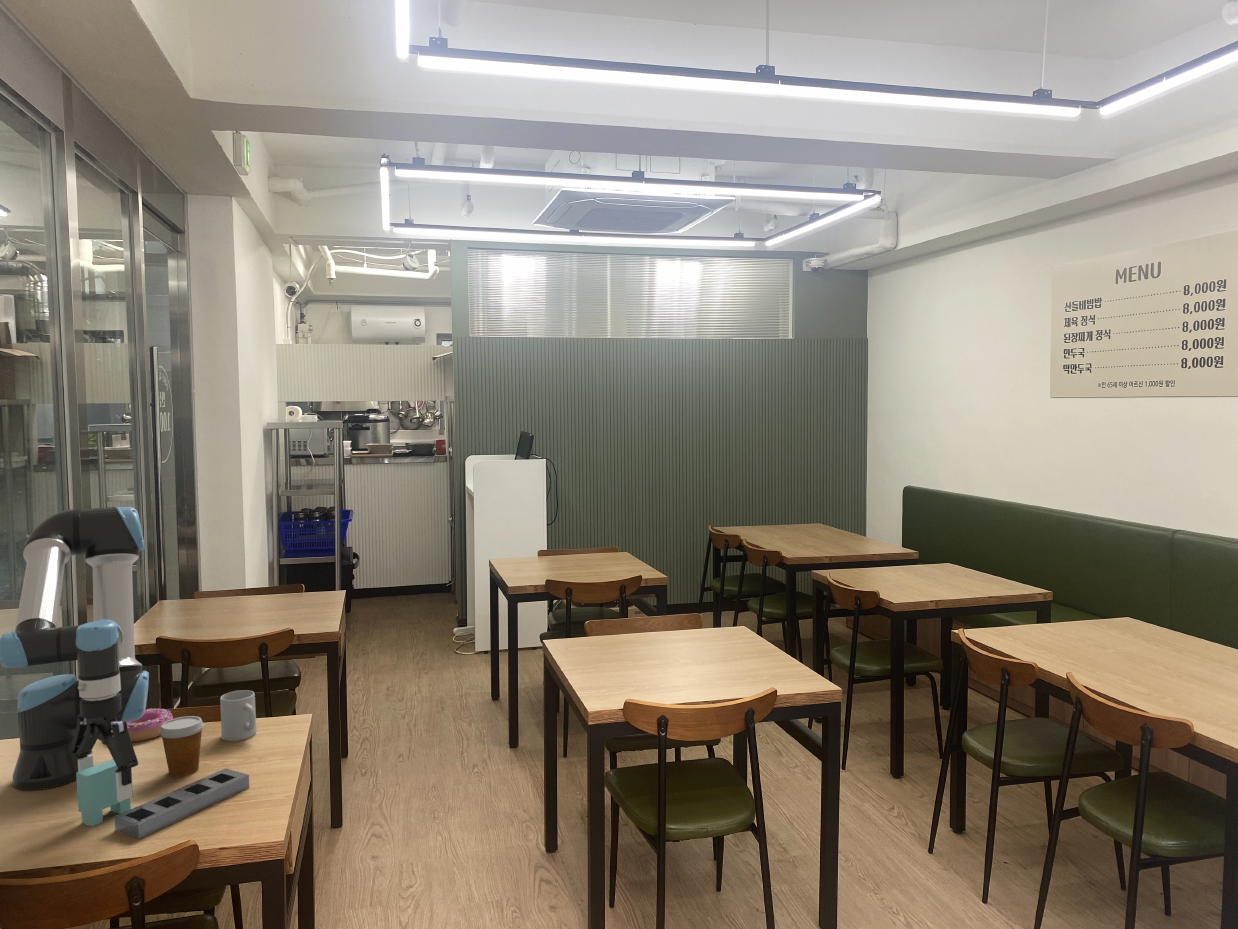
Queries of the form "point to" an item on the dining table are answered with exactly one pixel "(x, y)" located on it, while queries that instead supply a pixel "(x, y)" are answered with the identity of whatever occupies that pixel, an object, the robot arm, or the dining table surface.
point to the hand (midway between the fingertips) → (105, 793)
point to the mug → (238, 715)
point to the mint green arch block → (99, 792)
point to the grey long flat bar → (180, 803)
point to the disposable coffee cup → (182, 744)
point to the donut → (148, 724)
